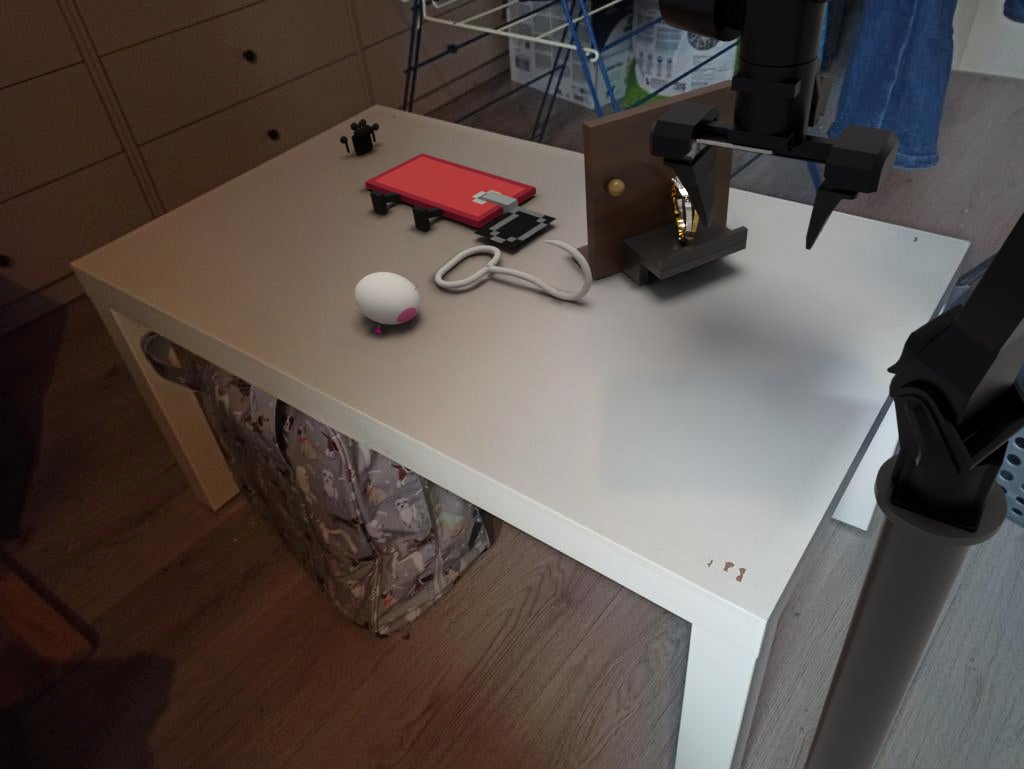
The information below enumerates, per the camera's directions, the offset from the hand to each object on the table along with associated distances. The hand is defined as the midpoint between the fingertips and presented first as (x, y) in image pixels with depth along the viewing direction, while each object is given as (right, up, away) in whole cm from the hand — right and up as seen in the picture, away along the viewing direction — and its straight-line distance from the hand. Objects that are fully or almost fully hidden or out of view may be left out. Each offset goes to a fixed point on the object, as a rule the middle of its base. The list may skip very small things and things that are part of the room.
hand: (757, 235), depth 70 cm
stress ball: (-35, -6, +19) cm, 40 cm away
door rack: (-4, +1, +22) cm, 22 cm away
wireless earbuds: (-44, +23, +54) cm, 73 cm away
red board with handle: (-29, +11, +38) cm, 49 cm away
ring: (-3, +3, +18) cm, 18 cm away
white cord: (-21, -2, +21) cm, 30 cm away
